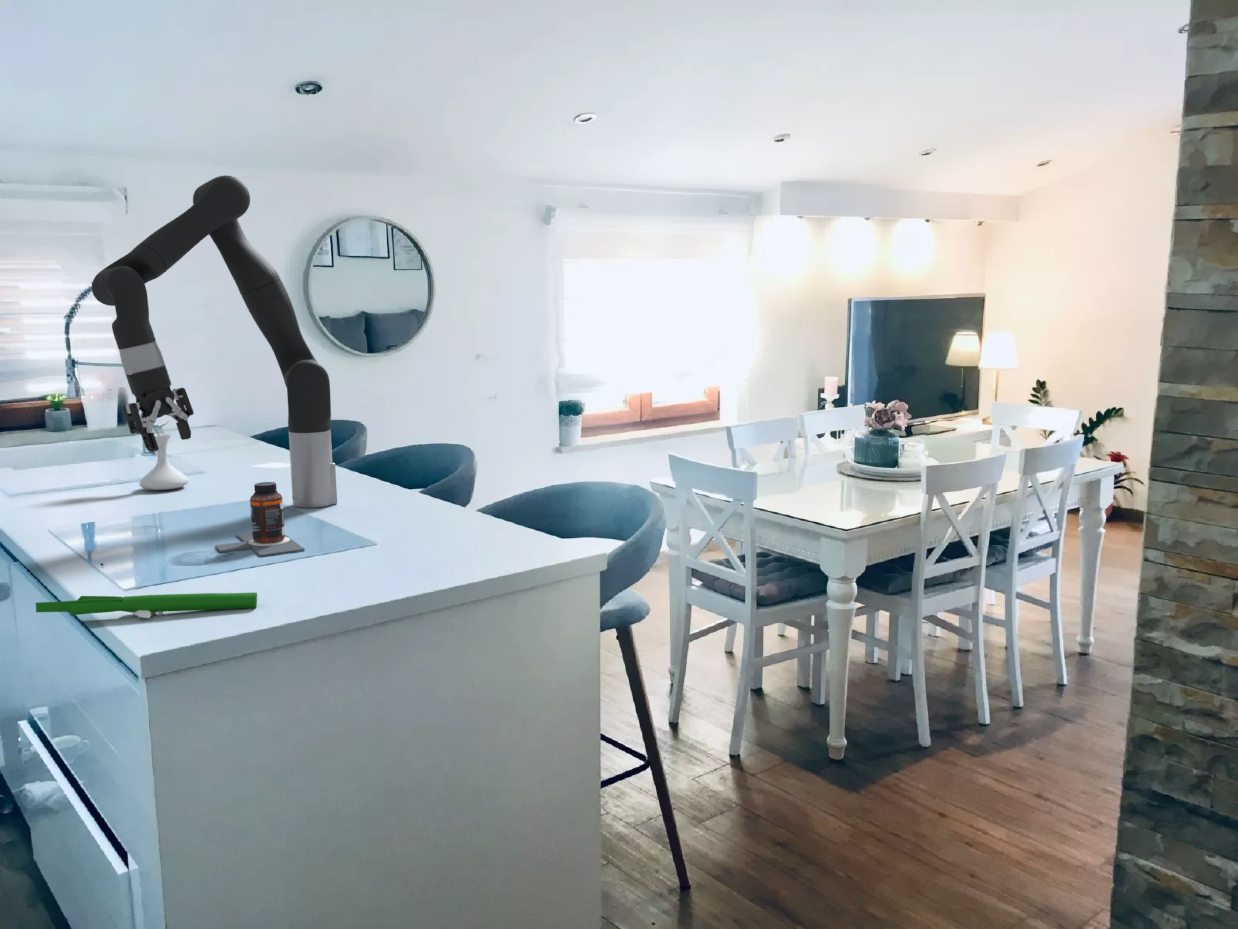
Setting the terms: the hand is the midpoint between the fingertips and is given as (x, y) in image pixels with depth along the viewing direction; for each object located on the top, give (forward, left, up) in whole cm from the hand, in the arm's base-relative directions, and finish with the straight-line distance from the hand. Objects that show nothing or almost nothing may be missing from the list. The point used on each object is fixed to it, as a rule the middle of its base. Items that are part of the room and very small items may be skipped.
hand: (170, 445), depth 201 cm
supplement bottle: (-13, +23, -17) cm, 32 cm away
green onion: (+13, +60, -18) cm, 64 cm away
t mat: (-10, +23, -18) cm, 31 cm away
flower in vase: (-5, -52, -18) cm, 55 cm away
